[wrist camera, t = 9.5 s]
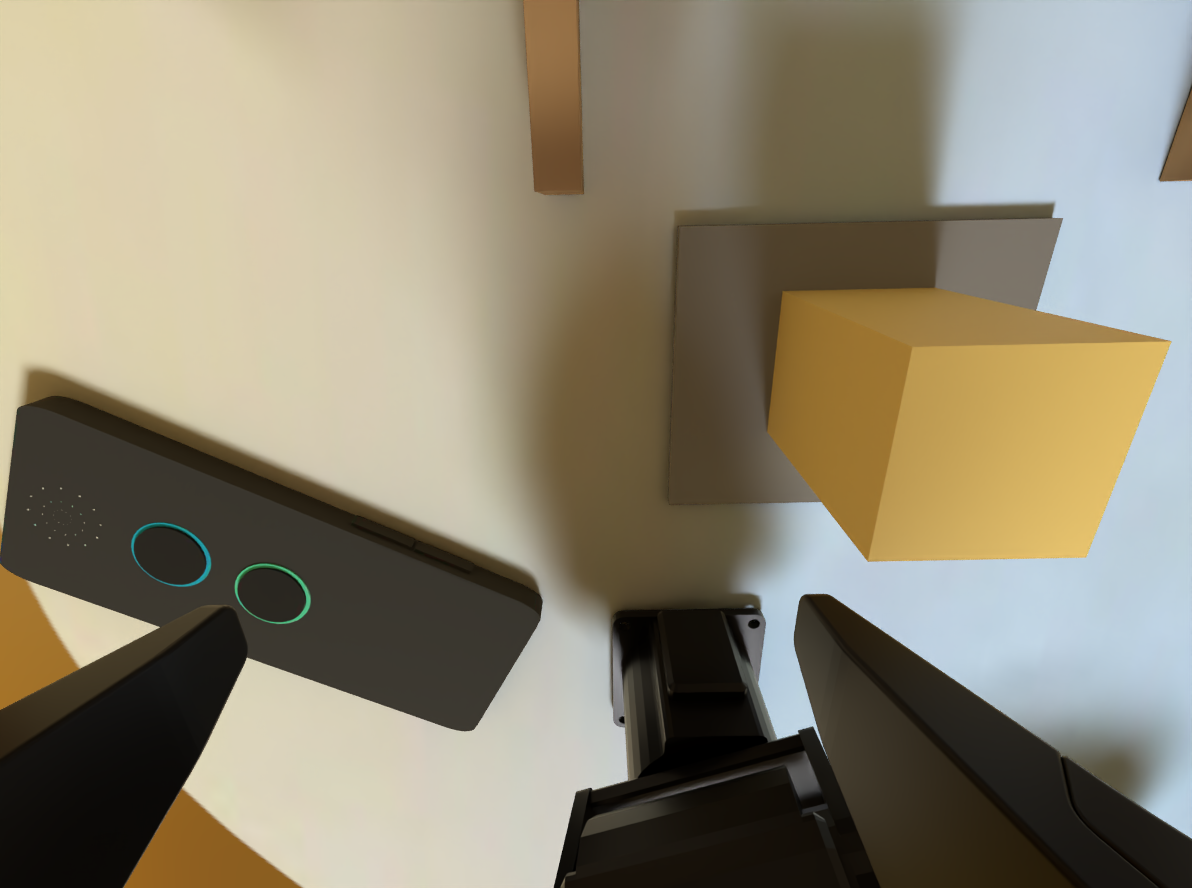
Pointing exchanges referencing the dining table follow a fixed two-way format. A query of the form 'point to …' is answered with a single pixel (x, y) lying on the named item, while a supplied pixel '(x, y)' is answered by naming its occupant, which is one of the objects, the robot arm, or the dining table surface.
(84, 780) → the robot arm
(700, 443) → the gray panel
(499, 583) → the smart home device
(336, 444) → the dining table surface
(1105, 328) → the mustard block
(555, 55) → the wooden u-shaped frame
